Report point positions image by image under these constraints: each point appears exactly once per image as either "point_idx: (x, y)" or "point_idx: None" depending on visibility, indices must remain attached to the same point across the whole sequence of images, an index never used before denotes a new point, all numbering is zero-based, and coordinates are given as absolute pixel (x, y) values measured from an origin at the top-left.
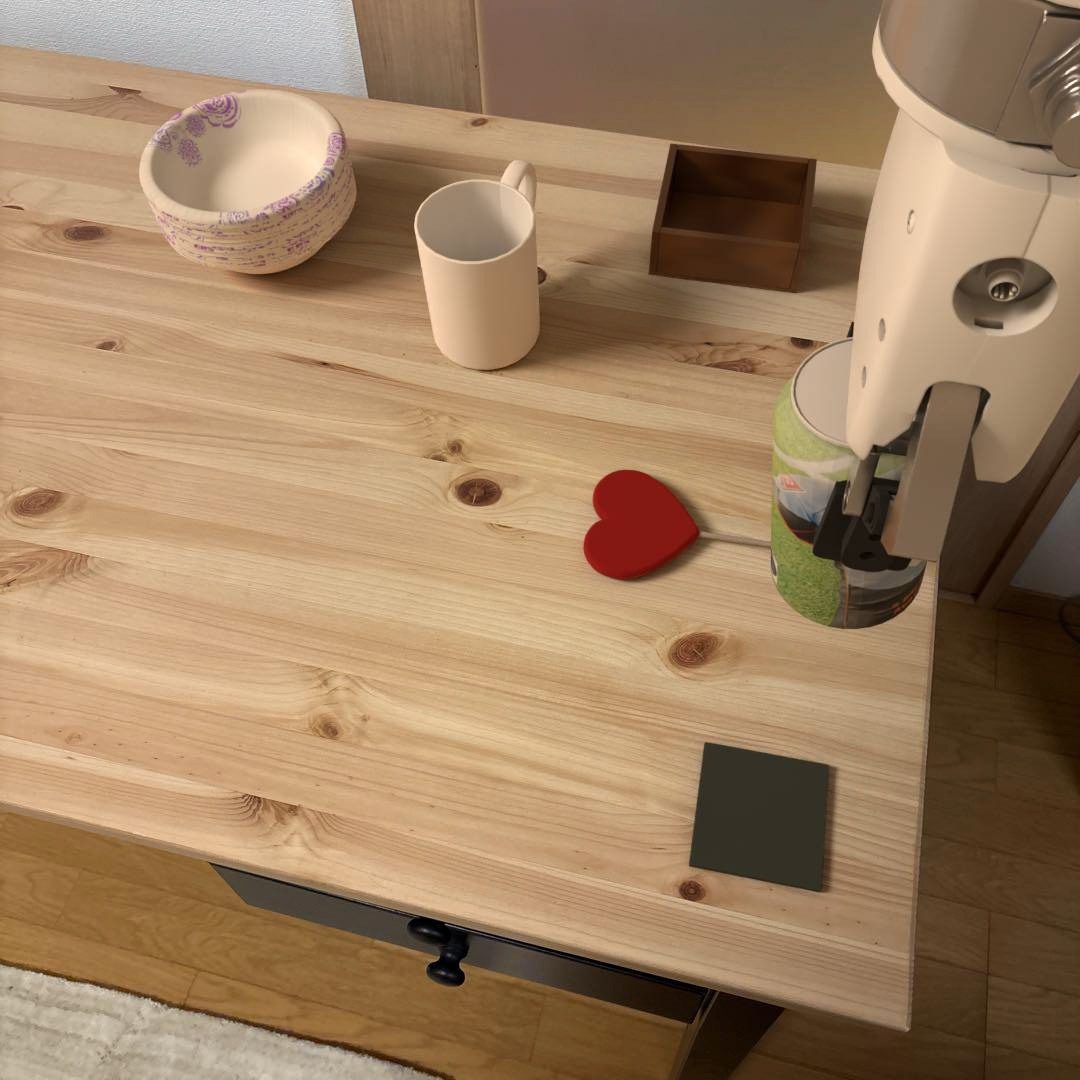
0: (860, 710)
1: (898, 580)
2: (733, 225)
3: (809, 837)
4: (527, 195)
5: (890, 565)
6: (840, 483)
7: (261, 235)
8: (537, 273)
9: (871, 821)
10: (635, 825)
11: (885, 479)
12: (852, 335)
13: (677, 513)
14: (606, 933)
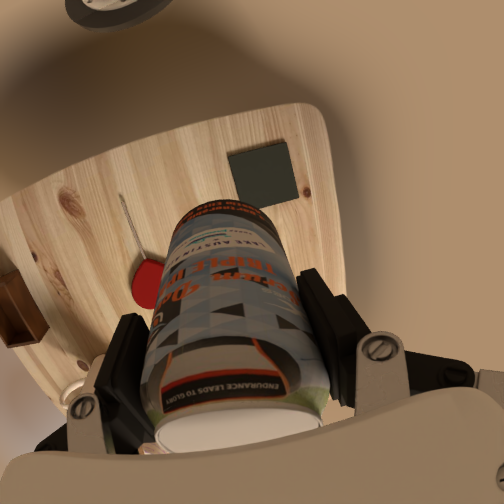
0: (192, 152)
1: (269, 238)
2: (12, 306)
3: (265, 153)
4: (66, 392)
5: (347, 298)
6: (344, 404)
7: (149, 446)
8: (89, 377)
9: (244, 130)
10: (291, 224)
11: (353, 398)
12: (154, 437)
13: (142, 273)
14: (334, 217)
